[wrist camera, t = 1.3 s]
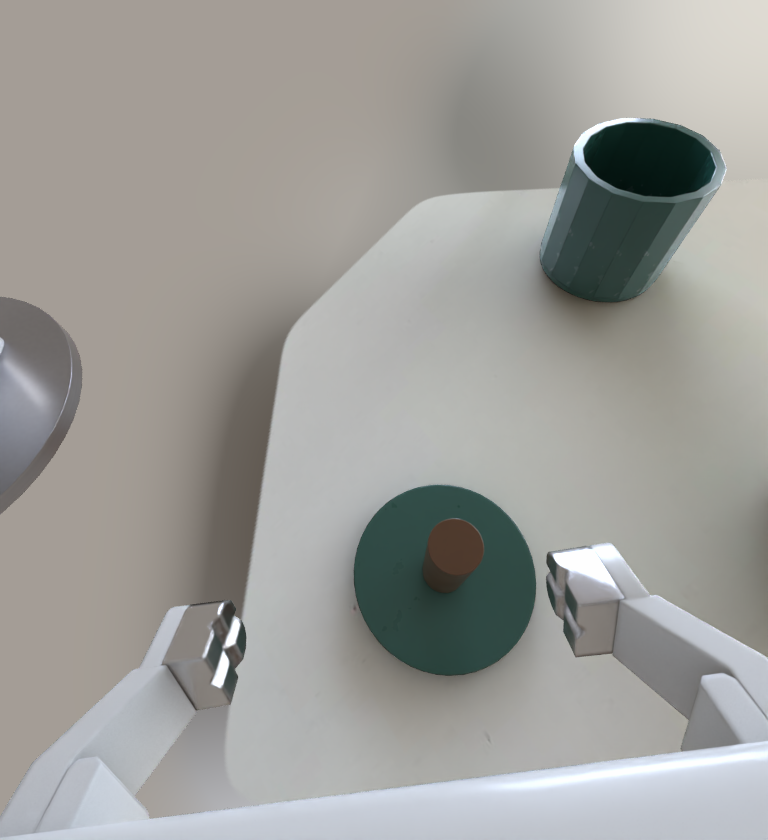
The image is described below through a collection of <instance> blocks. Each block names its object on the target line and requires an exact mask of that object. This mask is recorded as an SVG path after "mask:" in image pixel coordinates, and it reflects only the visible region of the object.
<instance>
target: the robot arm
mask: <svg viewBox="0 0 768 840" xmlns="http://www.w3.org/2000/svg"><path fill="white" fill-rule="evenodd" d="M3 347H4V340H3V339H2V338H1V337H0V355H1V352H2V350H3ZM547 565H548V567H549V569H550V572H549V573H548V575H547V576H546V583H547V591H548V596H549V599H550V602H551V605H552V607H553V610H554V612H555V614H556V615H557V616H558V617H559V618H561V619H562V620H564V629H563V632H564V634H565V636H566V638H567V640H568V642H569V644H570V647H571V649H572V651H573V653H574V655H575V657H583V656H592V655H602V654H611V653H613V656H614V657H615V658H616V659H618V660H619V661H620V662H621V663H622V664H623V665H625V666H626V667H627V668H628V669H629V670H631V671H632V672H633V673H634V674H635V675H636V676H638V677H639V678H640V679H641V680H642V681H644V682H645V683H646V684H647V685H648V686H649V687H651V688H652V689H653V690H654V691H655V692H656V693H658V694H659V695H660V696H661V697H662V698H664V699H665V700H666V701H667V702H668V703H669V704H671V705H672V706H673V707H674V708H675V709H677V710H678V711H679V712H680V713H681V714H682V715H684V716H685V717H686V718H687V719H688V720H689V722H688V725H687V728H686V732H685V735H684V739H683V742H682V745H681V750H682V752H675V753H667V754H660V755H652V756H644V757H636V758H628V759H620V760H612V761H604V762H596V763H588V764H580V765H572V766H564V767H556V768H548V769H540V770H532V771H524V772H516V773H508V774H500V775H492V776H484V777H476V778H469V779H461V780H453V781H445V782H437V783H429V784H421V785H413V786H405V787H397V788H389V789H381V790H373V791H365V792H357V793H349V794H341V795H334V796H326V797H318V798H310V799H302V800H294V801H286V802H278V803H270V804H262V805H254V806H247V807H239V808H231V809H223V810H215V811H207V812H199V813H191V814H183V815H175V816H168V817H160V818H152V819H149V814H148V811H147V809H146V808H145V807H144V806H143V805H142V804H141V803H140V802H139V800H138V799H137V798H136V797H135V795H136V794H137V792H138V791H139V790H140V788H141V787H142V786H143V784H144V783H145V782H146V780H147V779H148V778H149V776H150V775H151V774H152V772H153V771H154V769H155V768H156V767H157V765H158V764H159V762H160V761H161V760H162V759H163V757H164V756H165V755H166V753H167V752H168V751H169V749H170V748H171V747H172V745H173V744H174V743H175V741H176V740H177V739H178V737H179V736H180V734H181V733H182V732H183V731H184V729H185V728H186V727H187V725H188V724H189V722H190V721H191V720H192V718H193V717H194V716H195V714H196V713H197V711H196V710H201V709H207V708H213V707H220V706H225V705H231V701H232V698H233V694H234V691H235V687H236V683H237V680H238V675H237V673H236V671H235V668H236V667H237V666H238V665H239V663H240V662H241V661H242V660H243V657H244V653H245V649H246V632H245V627H244V625H243V622H242V620H240V619H238V618H236V617H235V616H234V614H235V611H236V608H235V606H234V604H233V603H232V601H231V600H226V601H217V602H208V603H200V604H192V605H186V606H178V607H172V608H171V609H170V610H169V611H168V612H167V613H166V614H165V616H164V619H163V621H162V623H161V624H160V626H159V629H158V630H157V632H156V635H155V637H154V639H153V641H152V643H151V645H150V647H149V649H148V651H147V653H146V655H145V657H144V659H143V661H142V663H141V665H140V667H139V669H134V670H132V671H131V672H130V673H129V674H128V675H126V676H125V677H124V678H123V679H122V680H121V681H120V682H119V683H118V684H117V685H116V686H115V687H114V688H112V689H111V690H110V691H109V692H108V693H107V694H106V695H105V696H104V697H103V698H102V699H101V700H100V701H99V702H97V704H95V705H94V706H93V707H92V708H91V709H90V710H89V711H88V712H87V713H85V714H84V715H83V716H82V717H81V718H80V719H79V720H78V721H77V722H76V723H75V724H74V725H73V726H71V727H70V728H69V729H68V730H67V731H66V732H65V733H64V734H63V735H62V736H61V737H60V738H59V739H57V740H56V741H55V742H54V743H53V744H52V745H51V746H50V747H49V748H48V749H47V750H46V751H45V752H44V753H42V754H41V755H40V756H39V757H38V758H37V759H36V760H35V761H34V762H33V763H32V764H31V766H30V767H29V769H28V771H27V773H26V774H25V776H24V778H23V779H22V781H21V782H20V784H19V786H18V787H17V789H16V791H15V792H14V794H13V796H12V797H11V799H10V801H9V802H8V804H7V806H6V807H5V809H4V811H3V813H2V814H1V816H0V840H768V658H767V657H766V656H764V655H762V654H760V653H759V652H757V651H755V650H753V649H752V648H750V647H748V646H746V645H744V644H743V643H741V642H739V641H737V640H736V639H734V638H732V637H730V636H729V635H727V634H725V633H723V632H721V631H720V630H718V629H716V628H714V627H713V626H711V625H709V624H707V623H706V622H704V621H702V620H700V619H699V618H697V617H695V616H693V615H691V614H690V613H688V612H686V611H684V610H683V609H681V608H679V607H677V606H676V605H674V604H672V603H670V602H668V601H667V600H665V599H663V598H661V597H660V596H658V595H653V596H650V594H649V593H648V592H647V590H646V589H645V588H644V586H643V585H642V583H641V582H640V581H639V579H638V578H637V577H636V575H635V574H634V573H633V571H632V570H631V568H630V567H629V566H628V564H627V563H626V562H625V560H624V559H623V557H622V556H621V555H620V553H619V552H618V551H617V549H616V548H615V547H614V545H612V544H611V543H603V544H597V545H590V546H583V547H576V548H570V549H564V550H558V551H551V552H548V554H547Z"/></svg>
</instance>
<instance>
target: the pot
mask: <svg viewBox="0 0 768 840" xmlns="http://www.w3.org/2000/svg"><path fill="white" fill-rule="evenodd" d="M726 169H727V168H726V165H725V162H724V160H723V157H722V155H721V152H720V150H718V149H717V148H716V147H715V146H714V145H713V144H712V143H711V142H709V140H707V139H706V138H705V137H704V136H703V135H701V134H698V133H696V132H694V131H692V130H690V129H688V128H686V127H683V126H681V125H678V124H673V123H669V122H665V121H660V120H655V119H645V118H640V119H639V118H623V119H618V120H613V121H608V122H603V123H600V124H598V125H596V126H594V127H593V128H591V129H589V130H587V131H586V132H584V133H583V134H582V135H581V136H580V138H579V140H578V141H577V143H576V144H575V146H574V148H573V151H572V154H571V157H570V160H569V163H568V166H567V169H566V172H565V175H564V178H563V181H562V184H561V187H560V190H559V193H558V196H557V199H556V202H555V205H554V208H553V211H552V214H551V216H550V219H549V222H548V225H547V228H546V231H545V234H544V237H543V240H542V243H541V250H540V261H541V265H542V268H543V269H544V271H545V273H546V274H547V276H548V277H549V278H550V279H551V280H552V281H553V282H554V283H555V284H556V285H557V286H559V287H560V288H562V289H563V290H565V291H567V292H568V293H570V294H572V295H575V296H577V297H580V298H584V299H587V300H592V301H599V302H618V301H624V300H628V299H631V298H634V297H636V296H638V295H640V294H642V293H643V292H645V291H646V290H647V289H648V288H649V287H650V286H651V285H652V284H653V283H654V282H655V281H656V279H657V278H658V276H659V275H660V273H661V272H662V271H663V269H664V268H665V266H666V265H667V263H668V262H669V260H670V259H671V257H672V256H673V254H674V253H675V252H676V250H677V249H678V247H679V246H680V244H681V243H682V241H683V240H684V238H685V237H686V235H687V234H688V233H689V231H690V230H691V228H692V227H693V225H694V224H695V222H696V221H697V219H698V218H699V216H700V215H701V214H702V212H703V211H704V209H705V208H706V206H707V205H708V203H709V202H710V200H711V199H712V197H713V196H714V195H715V193H716V192H717V190H718V189H719V187H720V186H721V184H722V181H723V178H724V175H725V172H726Z"/></svg>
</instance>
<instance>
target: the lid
mask: <svg viewBox="0 0 768 840" xmlns="http://www.w3.org/2000/svg"><path fill="white" fill-rule="evenodd" d="M354 586H355V592H356V597H357V601H358V605H359V608H360V611H361V613H362V615H363V618H364V620H365V622H366V624H367V625H368V627H369V629H370V630H371V632H372V633H373V635H374V636H375V637H376V639H377V640H378V641H379V642H380V644H381V645H382V646H383V647H384V648H385V649H386V650H387V651H388V652H390V653H391V654H392V655H394V656H395V657H396V658H397V659H399V660H400V661H402V662H404V663H406V664H407V665H409V666H411V667H413V668H416V669H418V670H421V671H423V672H428V673H432V674H436V675H447V676H452V675H464V674H468V673H473V672H476V671H479V670H481V669H484V668H486V667H488V666H490V665H492V664H494V663H495V662H497V661H499V660H500V659H501V658H502V657H503V656H505V655H506V654H507V653H508V652H509V651H510V650H511V649H512V648H513V647H514V646H515V645H516V643H517V642H518V641H519V639H520V638H521V636H522V635H523V633H524V631H525V629H526V627H527V625H528V623H529V621H530V618H531V614H532V611H533V608H534V602H535V595H536V578H535V569H534V564H533V560H532V556H531V553H530V551H529V548H528V545H527V543H526V541H525V539H524V537H523V535H522V534H521V532H520V530H519V529H518V527H517V526H516V524H515V523H514V522H513V521H512V520H511V518H510V517H509V516H508V515H507V514H506V513H505V512H504V511H503V510H502V509H501V508H500V507H498V506H497V505H496V504H494V503H493V502H492V501H490V500H489V499H487V498H485V497H484V496H482V495H480V494H478V493H476V492H473V491H471V490H468V489H465V488H461V487H457V486H451V485H428V486H423V487H418V488H415V489H412V490H409V491H406V492H404V493H402V494H400V495H398V496H396V497H395V498H393V499H392V500H390V501H389V502H388V503H387V504H385V505H384V506H383V507H382V508H381V509H380V510H379V511H378V512H377V513H376V514H375V515H374V517H373V518H372V519H371V521H370V522H369V524H368V525H367V527H366V529H365V531H364V533H363V535H362V537H361V539H360V542H359V545H358V548H357V552H356V557H355V564H354Z"/></svg>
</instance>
